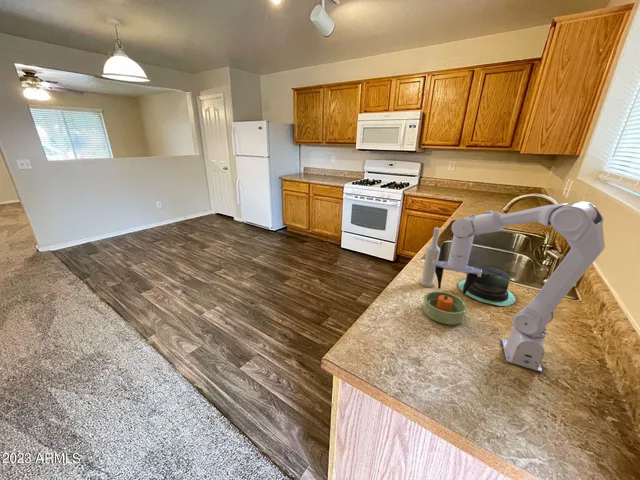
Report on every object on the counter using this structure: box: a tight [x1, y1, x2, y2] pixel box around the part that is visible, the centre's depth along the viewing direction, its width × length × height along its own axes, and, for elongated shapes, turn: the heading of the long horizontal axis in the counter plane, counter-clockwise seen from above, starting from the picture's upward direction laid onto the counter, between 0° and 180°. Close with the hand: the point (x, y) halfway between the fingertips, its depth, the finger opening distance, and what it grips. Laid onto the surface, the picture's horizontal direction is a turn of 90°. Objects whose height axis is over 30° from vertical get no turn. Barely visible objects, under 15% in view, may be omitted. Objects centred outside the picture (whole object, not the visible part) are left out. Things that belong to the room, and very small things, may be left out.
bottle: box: [420, 227, 441, 288], centre depth 107 cm, size 5×5×25 cm
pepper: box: [436, 295, 453, 312], centre depth 92 cm, size 5×5×7 cm
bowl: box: [422, 290, 468, 326], centre depth 92 cm, size 13×13×5 cm
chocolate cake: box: [457, 266, 516, 307], centre depth 106 cm, size 15×19×20 cm
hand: (451, 290), depth 90 cm, fingers open, 7 cm apart
